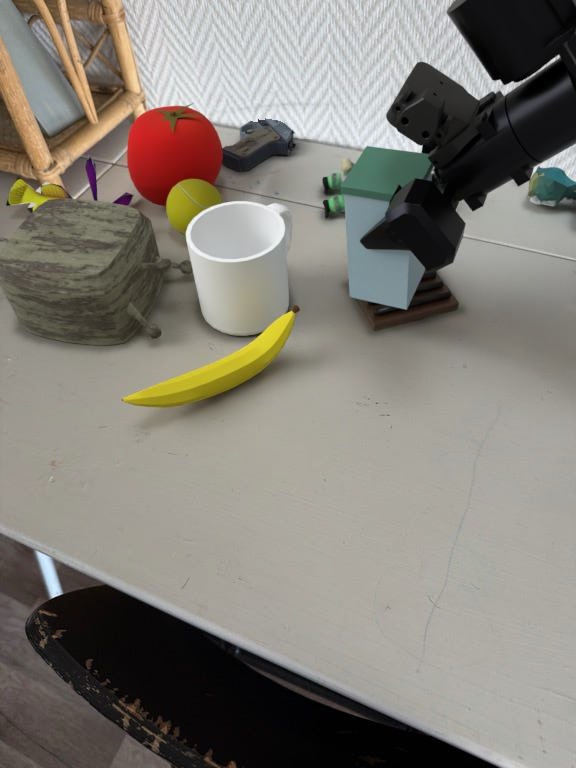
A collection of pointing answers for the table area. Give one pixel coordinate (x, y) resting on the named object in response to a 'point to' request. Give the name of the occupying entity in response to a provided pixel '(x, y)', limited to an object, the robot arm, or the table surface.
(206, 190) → the tennis ball
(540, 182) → the figurine
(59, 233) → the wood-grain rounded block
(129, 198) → the toy
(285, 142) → the handgun
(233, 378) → the banana
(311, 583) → the table surface
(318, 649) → the table surface
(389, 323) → the dish rack
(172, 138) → the tomato
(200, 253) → the mug
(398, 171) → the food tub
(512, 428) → the table surface
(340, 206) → the toy
